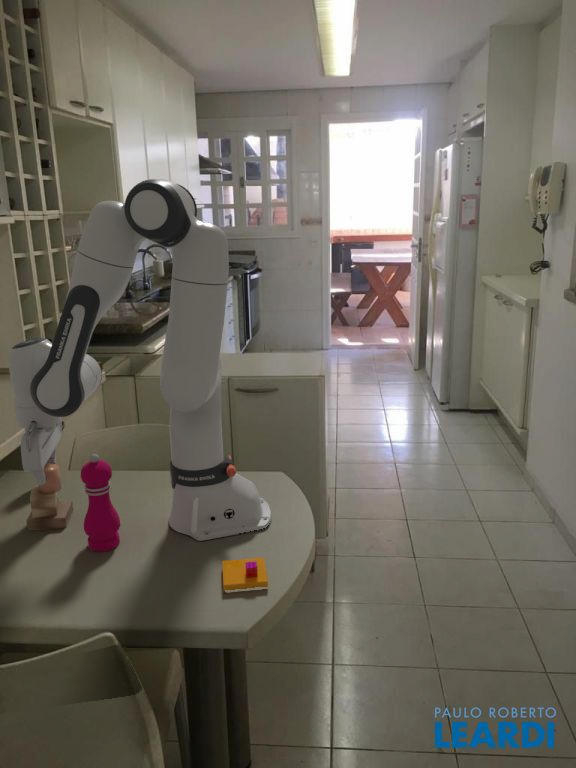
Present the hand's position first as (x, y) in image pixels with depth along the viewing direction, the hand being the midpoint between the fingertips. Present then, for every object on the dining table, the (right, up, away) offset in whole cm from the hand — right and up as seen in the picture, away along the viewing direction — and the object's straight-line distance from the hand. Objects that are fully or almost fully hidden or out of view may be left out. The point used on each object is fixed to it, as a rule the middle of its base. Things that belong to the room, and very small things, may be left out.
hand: (47, 474), depth 138 cm
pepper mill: (+15, -14, -8) cm, 21 cm away
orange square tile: (+45, -17, -20) cm, 52 cm away
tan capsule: (0, -3, +1) cm, 4 cm away
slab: (0, -11, +3) cm, 12 cm away
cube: (-1, -8, +1) cm, 9 cm away
